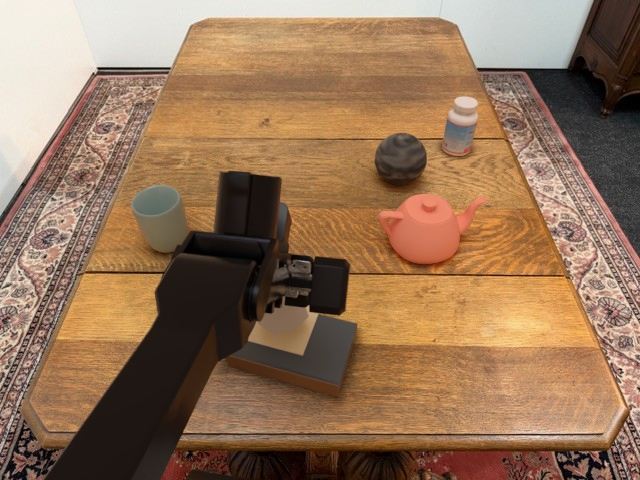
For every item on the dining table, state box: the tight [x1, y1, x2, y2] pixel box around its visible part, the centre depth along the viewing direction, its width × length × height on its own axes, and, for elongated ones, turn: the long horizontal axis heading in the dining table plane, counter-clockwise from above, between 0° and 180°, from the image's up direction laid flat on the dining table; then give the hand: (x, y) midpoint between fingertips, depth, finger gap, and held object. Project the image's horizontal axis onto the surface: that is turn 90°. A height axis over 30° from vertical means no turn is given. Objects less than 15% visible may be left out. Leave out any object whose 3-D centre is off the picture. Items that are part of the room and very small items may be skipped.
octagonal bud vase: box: [258, 296, 309, 335], centre depth 62 cm, size 7×7×10 cm
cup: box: [130, 184, 190, 254], centre depth 79 cm, size 8×8×10 cm
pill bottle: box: [441, 95, 479, 157], centre depth 98 cm, size 6×6×11 cm
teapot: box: [377, 193, 489, 265], centre depth 79 cm, size 12×18×10 cm
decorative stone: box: [374, 132, 428, 186], centre depth 91 cm, size 10×10×10 cm
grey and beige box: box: [225, 305, 358, 398], centre depth 67 cm, size 11×16×3 cm
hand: (280, 273), depth 61 cm, fingers closed on octagonal bud vase, 3 cm apart
